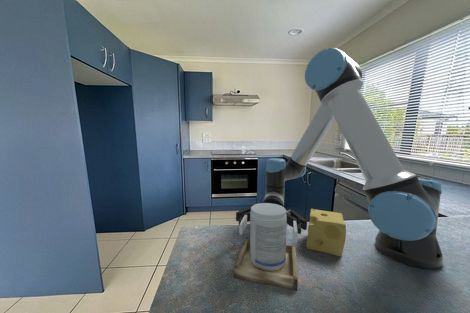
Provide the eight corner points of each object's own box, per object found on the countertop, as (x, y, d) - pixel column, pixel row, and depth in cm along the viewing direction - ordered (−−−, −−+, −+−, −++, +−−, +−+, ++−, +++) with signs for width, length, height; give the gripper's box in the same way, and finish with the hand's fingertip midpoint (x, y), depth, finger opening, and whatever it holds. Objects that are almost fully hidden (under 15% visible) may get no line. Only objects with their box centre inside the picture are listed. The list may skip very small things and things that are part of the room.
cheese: (305, 249, 60) (307, 218, 59) (308, 233, 69) (310, 207, 69) (344, 258, 55) (346, 225, 54) (341, 240, 65) (343, 212, 64)
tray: (294, 252, 58) (295, 244, 57) (297, 290, 43) (297, 279, 43) (246, 245, 61) (246, 237, 61) (233, 277, 47) (234, 267, 47)
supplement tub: (292, 264, 51) (295, 210, 50) (266, 278, 46) (268, 218, 44) (267, 247, 59) (269, 200, 58) (242, 257, 54) (243, 206, 52)
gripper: (309, 219, 66) (320, 255, 45) (238, 211, 72) (220, 240, 52) (310, 198, 65) (321, 225, 45) (239, 192, 71) (220, 213, 51)
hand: (267, 233), depth 48 cm, fingers open, 13 cm apart
